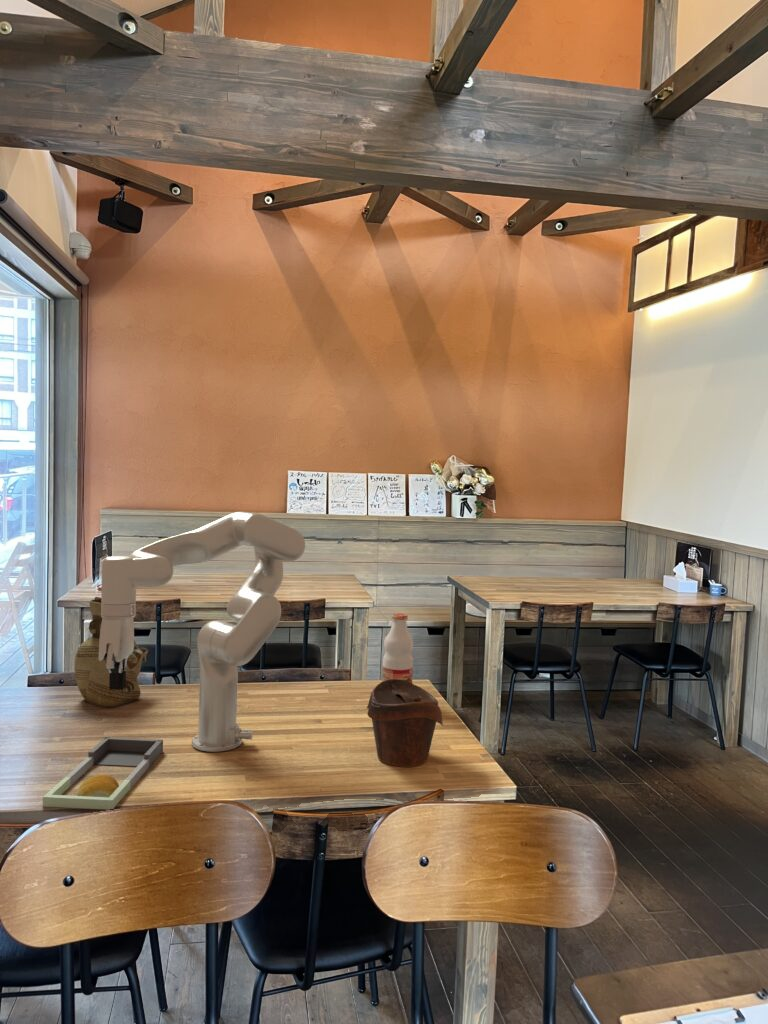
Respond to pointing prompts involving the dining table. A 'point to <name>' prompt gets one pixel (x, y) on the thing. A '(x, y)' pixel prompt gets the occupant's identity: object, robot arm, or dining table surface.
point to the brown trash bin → (403, 722)
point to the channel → (107, 754)
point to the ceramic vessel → (104, 668)
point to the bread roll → (98, 786)
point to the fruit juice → (398, 651)
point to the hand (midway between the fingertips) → (117, 688)
